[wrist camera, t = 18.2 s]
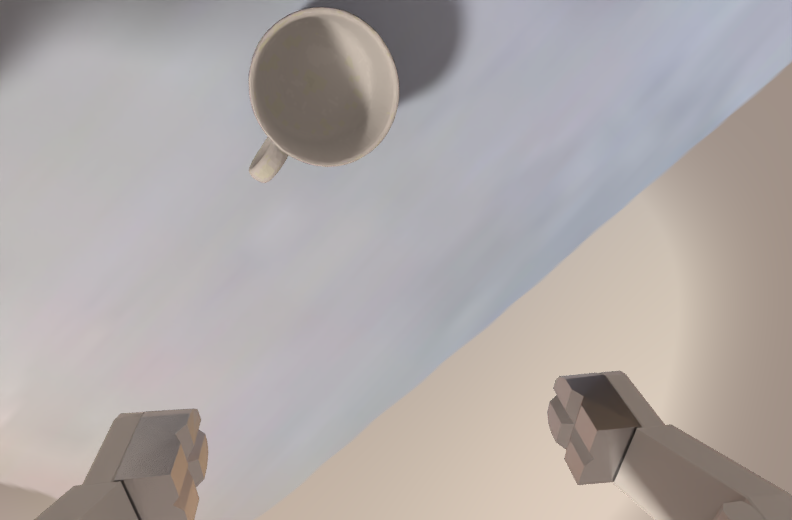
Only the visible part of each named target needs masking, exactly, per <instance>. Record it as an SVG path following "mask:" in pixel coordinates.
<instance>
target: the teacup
mask: <svg viewBox="0 0 792 520" xmlns="http://www.w3.org/2000/svg"><path fill="white" fill-rule="evenodd" d="M249 95H250V101H251V105H252V109H253V112H254V115H255V117H256V119H257V121H258V123H259V125H260V126H261V128H262V130H263V131H264V132H265V134H266V135H267V136H268V137H267V139H266V140H265V142H264V143H263V145H262V146H261V148H260V150H259V151H258V153H257V154H256V156H255V158H254V159H253V161H252V163H251V165H250V168H249V173H250V175H251V176H252V177H253V178H254V179H256V180H258V181H259V182H262V183H266V182H269V181H270V180H271V179H272V178H273V177H274V176H275V175H276V174H277V173H278V171H279V170H280V169H281V167H282V165H283V164H284V162H285V161H286V159H287V157H288V155H289V156H291V157H293V158H295V159H297V160H299V161H302V162H305V163H307V164H311V165H315V166H324V167H332V166H341V165H345V164H349V163H352V162H354V161H356V160H359V159H360V158H362V157H363V156H365V155H367V154H368V153H370V152H371V151H372V150H373V149H374V148H376V147H377V146H378V145H379V144H380V142H381V141H382V140H383V139H384V137H385V136H386V135H387V133H388V131H389V129H390V127H391V125H392V123H393V121H394V118H395V115H396V111H397V108H398V102H399V78H398V73H397V69H396V66H395V63H394V60H393V58H392V56H391V54H390V51H389V49H388V48H387V46H386V44H385V43H384V41H383V40H382V38H381V37H380V36H379V34H378V33H377V32H376V31H375V30H374V29H373V28H372V27H371V26H370V25H368V24H367V23H366V22H364V21H363V20H362V19H360V18H359V17H357V16H355V15H353V14H351V13H349V12H347V11H343V10H340V9H335V8H327V7H314V8H307V9H303V10H299V11H297V12H294V13H292V14H289V15H287V16H286V17H284V18H282V19H281V20H279V21H278V22H277V23H275V24H274V25H273V26H272V27H271V28H270V29H269V30H268V31H267V32H266V33H265V34H264V36H263V37H262V38H261V40H260V41H259V43H258V45H257V47H256V49H255V52H254V54H253V57H252V61H251V66H250V71H249Z"/></svg>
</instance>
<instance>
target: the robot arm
mask: <svg viewBox="0 0 792 520" xmlns="http://www.w3.org/2000/svg"><path fill="white" fill-rule="evenodd" d="M553 389H554V390H555V392H556V394H557V395H556V396H555V397H554V398H553V399H552V400H551V401H550V403H549V407H548V423H549V427H550V430H551V433H552V435H553V437H554V439H555V441H556V442H557V443H558V444H559V445H561V446H562V447H563V448H565V449H566V454H565V458H564V459H565V461H566V463H567V465H568V467H569V469H570V471H571V473H572V475H573V477H574V478H575V481H576V483H577V484H578V485H583V484H595V483H606V482H614V485H615V486H616V487H618V488H619V489H620V490H621V491H622V492H623V493H624V494H626V495H627V496H628V497H629V498H630V499H631V500H633V501H634V502H635V503H636V504H637V505H638V506H639V507H641V508H642V509H643V510H644V511H645V512H646V513H648V514H649V515H650V516H651V517H652V518H654V519H655V520H792V495H791V494H789V493H788V492H786V491H785V490H783V489H781V488H779V487H778V486H776V485H774V484H773V483H771V482H769V481H767V480H765V479H764V478H762V477H761V476H759V475H757V474H755V473H754V472H752V471H750V470H749V469H747V468H745V467H743V466H742V465H740V464H738V463H736V462H735V461H733V460H731V459H730V458H728V457H726V456H725V455H723V454H721V453H719V452H718V451H716V450H714V449H713V448H711V447H709V446H707V445H706V444H704V443H702V442H700V441H699V440H697V439H695V438H693V437H692V436H690V435H688V434H686V433H685V432H683V431H682V430H680V429H678V428H676V427H674V426H673V425H665V424H664V423H663V421H662V420H661V419H660V418H659V416H658V415H657V414H656V413H655V411H654V410H653V409H652V407H651V406H650V405H649V404H648V402H647V401H646V400H645V398H644V397H643V396H642V395H641V393H640V392H639V391H638V390H637V388H636V387H635V386H634V384H633V383H632V382H631V381H630V379H629V378H628V377H627V375H625V373H623V372H621V371H612V372H602V373H589V374H579V375H569V376H559V377H558V378H557V379H556V381H555V384H554V388H553ZM200 422H201V418H200V415H199V412H198V409H178V410H162V411H146V412H136V413H121V414H120V415H119V416H118V417H117V418H116V419H115V420H114V421H113V423H112V425H111V427H110V429H109V431H108V433H107V435H106V437H105V439H104V441H103V443H102V446H101V448H100V450H99V452H98V454H97V456H96V458H95V460H94V462H93V464H92V466H91V468H90V470H89V472H88V474H87V476H86V478H85V480H84V482H83V484H82V485H78V486H73V487H72V488H71V489H70V490H69V491H67V492H66V493H65V494H64V495H63V496H61V497H60V498H59V499H58V500H57V501H55V502H54V503H53V504H52V505H51V506H50V507H49V508H47V509H46V510H45V511H44V512H42V513H41V514H40V515H39V516H38V517H37V518H35V519H34V520H194V518H195V514H196V510H197V506H198V502H199V496H198V493H197V490H196V487H197V486H198V485H199V484H200V483H201V482H202V481H203V480H204V478H205V473H206V469H207V462H208V444H207V439H206V435H205V433H203V432H202V431H200V430H199V426H200Z"/></svg>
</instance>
